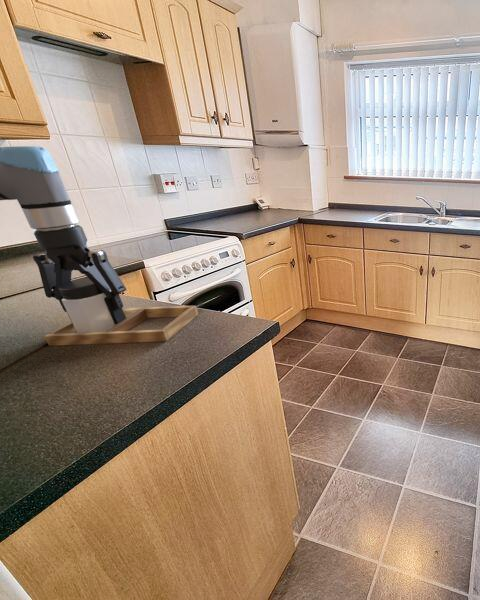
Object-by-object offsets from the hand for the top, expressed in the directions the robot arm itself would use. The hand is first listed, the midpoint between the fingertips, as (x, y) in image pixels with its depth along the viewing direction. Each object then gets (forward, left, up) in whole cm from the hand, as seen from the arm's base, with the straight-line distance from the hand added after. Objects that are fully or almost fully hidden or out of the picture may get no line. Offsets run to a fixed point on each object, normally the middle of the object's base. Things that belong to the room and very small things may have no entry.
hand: (100, 322), depth 80 cm
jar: (0, 0, -2) cm, 2 cm away
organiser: (+6, 0, -2) cm, 7 cm away
